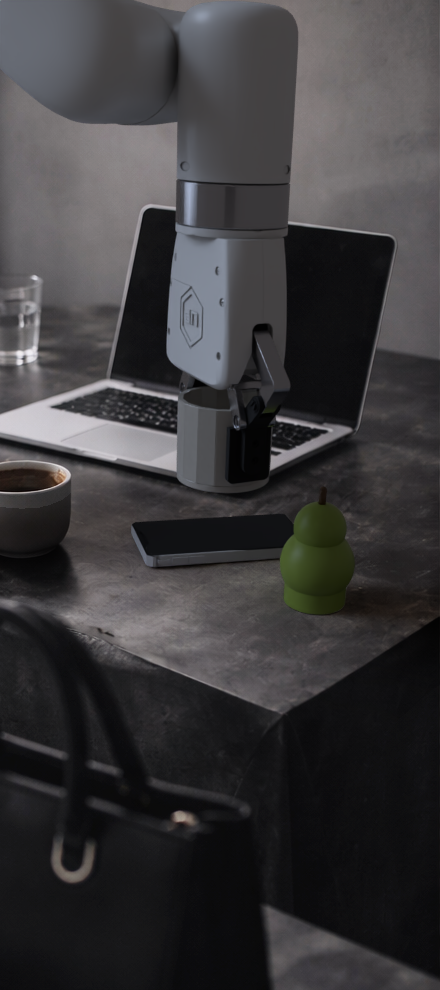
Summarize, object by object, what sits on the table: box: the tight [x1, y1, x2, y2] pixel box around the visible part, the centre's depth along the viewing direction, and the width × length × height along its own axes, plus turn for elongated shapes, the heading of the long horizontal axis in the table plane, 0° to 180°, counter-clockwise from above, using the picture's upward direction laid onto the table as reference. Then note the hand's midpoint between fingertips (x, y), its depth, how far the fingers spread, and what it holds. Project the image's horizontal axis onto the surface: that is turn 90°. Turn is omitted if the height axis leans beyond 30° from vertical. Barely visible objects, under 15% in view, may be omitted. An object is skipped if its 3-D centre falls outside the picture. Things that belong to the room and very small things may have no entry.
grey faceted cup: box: [175, 386, 274, 494], centre depth 71 cm, size 7×7×6 cm
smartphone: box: [130, 513, 294, 568], centre depth 89 cm, size 8×1×15 cm
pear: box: [279, 485, 356, 616], centre depth 78 cm, size 6×6×10 cm
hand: (222, 461), depth 71 cm, fingers closed on grey faceted cup, 6 cm apart
